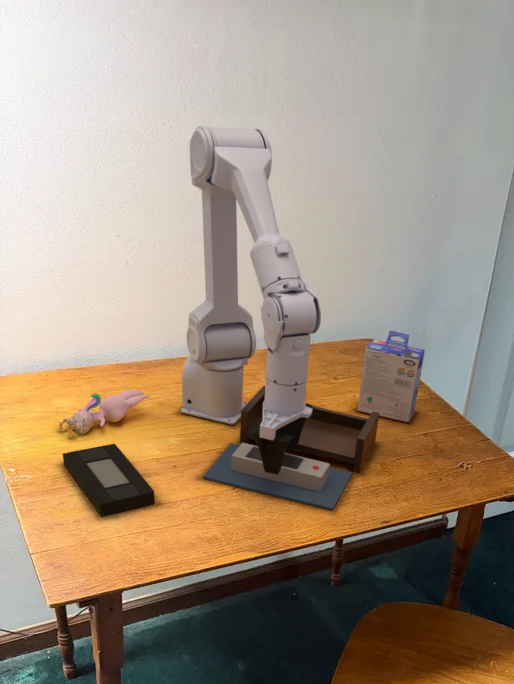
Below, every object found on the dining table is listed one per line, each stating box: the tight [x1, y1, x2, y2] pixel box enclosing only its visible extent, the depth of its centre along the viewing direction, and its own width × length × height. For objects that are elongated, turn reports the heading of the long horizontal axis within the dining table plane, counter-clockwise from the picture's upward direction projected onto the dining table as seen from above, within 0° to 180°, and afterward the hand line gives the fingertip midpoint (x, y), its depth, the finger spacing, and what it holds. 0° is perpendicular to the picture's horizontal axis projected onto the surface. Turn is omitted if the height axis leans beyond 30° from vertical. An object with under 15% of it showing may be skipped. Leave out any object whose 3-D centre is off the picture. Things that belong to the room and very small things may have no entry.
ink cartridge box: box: [356, 330, 426, 423], centre depth 139 cm, size 10×6×14 cm, turn 78°
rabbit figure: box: [58, 389, 150, 439], centre depth 123 cm, size 6×6×15 cm
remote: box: [231, 443, 331, 492], centre depth 119 cm, size 14×4×3 cm, turn 78°
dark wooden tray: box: [239, 385, 380, 474], centre depth 127 cm, size 20×10×6 cm, turn 78°
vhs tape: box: [62, 443, 156, 517], centre depth 111 cm, size 8×14×2 cm, turn 37°
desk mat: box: [202, 442, 353, 511], centre depth 120 cm, size 20×11×1 cm, turn 78°
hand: (280, 460), depth 118 cm, fingers open, 7 cm apart
